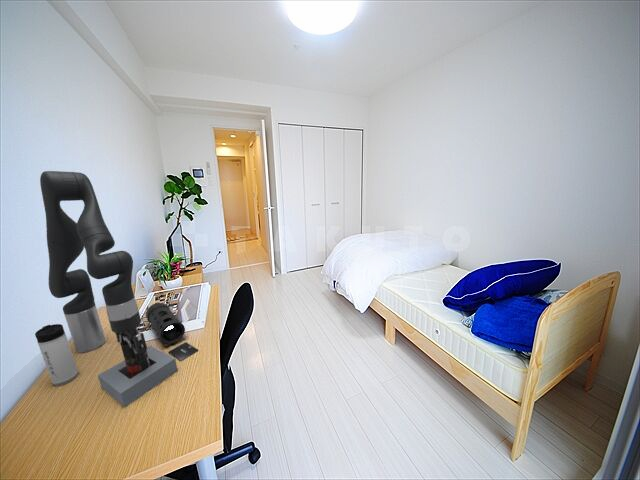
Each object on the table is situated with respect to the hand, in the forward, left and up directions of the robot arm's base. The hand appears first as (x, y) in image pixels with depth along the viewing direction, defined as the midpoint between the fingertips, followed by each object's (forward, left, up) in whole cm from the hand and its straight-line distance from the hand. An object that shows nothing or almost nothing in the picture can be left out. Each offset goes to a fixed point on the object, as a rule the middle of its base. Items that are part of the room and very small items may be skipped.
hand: (135, 357), depth 80 cm
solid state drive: (0, +15, -9) cm, 18 cm away
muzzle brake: (-21, +20, -9) cm, 30 cm away
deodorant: (0, 0, -9) cm, 9 cm away
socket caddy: (0, 0, -9) cm, 9 cm away
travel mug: (-25, -12, -9) cm, 29 cm away
